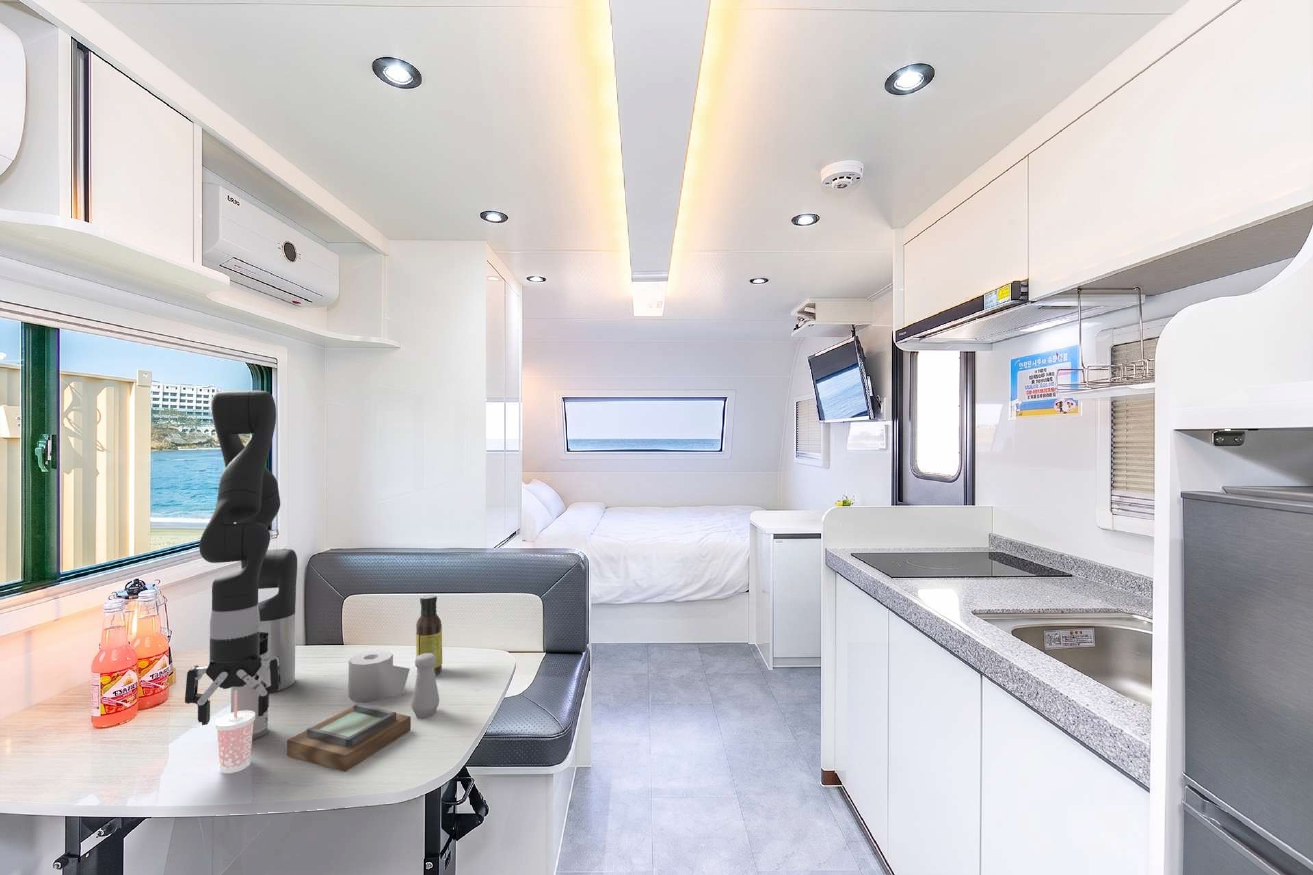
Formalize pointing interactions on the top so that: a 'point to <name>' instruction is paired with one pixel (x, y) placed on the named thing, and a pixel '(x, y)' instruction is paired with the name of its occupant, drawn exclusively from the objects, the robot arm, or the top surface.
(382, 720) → the dock
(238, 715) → the beverage cup
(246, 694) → the travel mug
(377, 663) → the toilet tissue
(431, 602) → the sauce bottle
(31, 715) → the top surface
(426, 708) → the salt shaker
